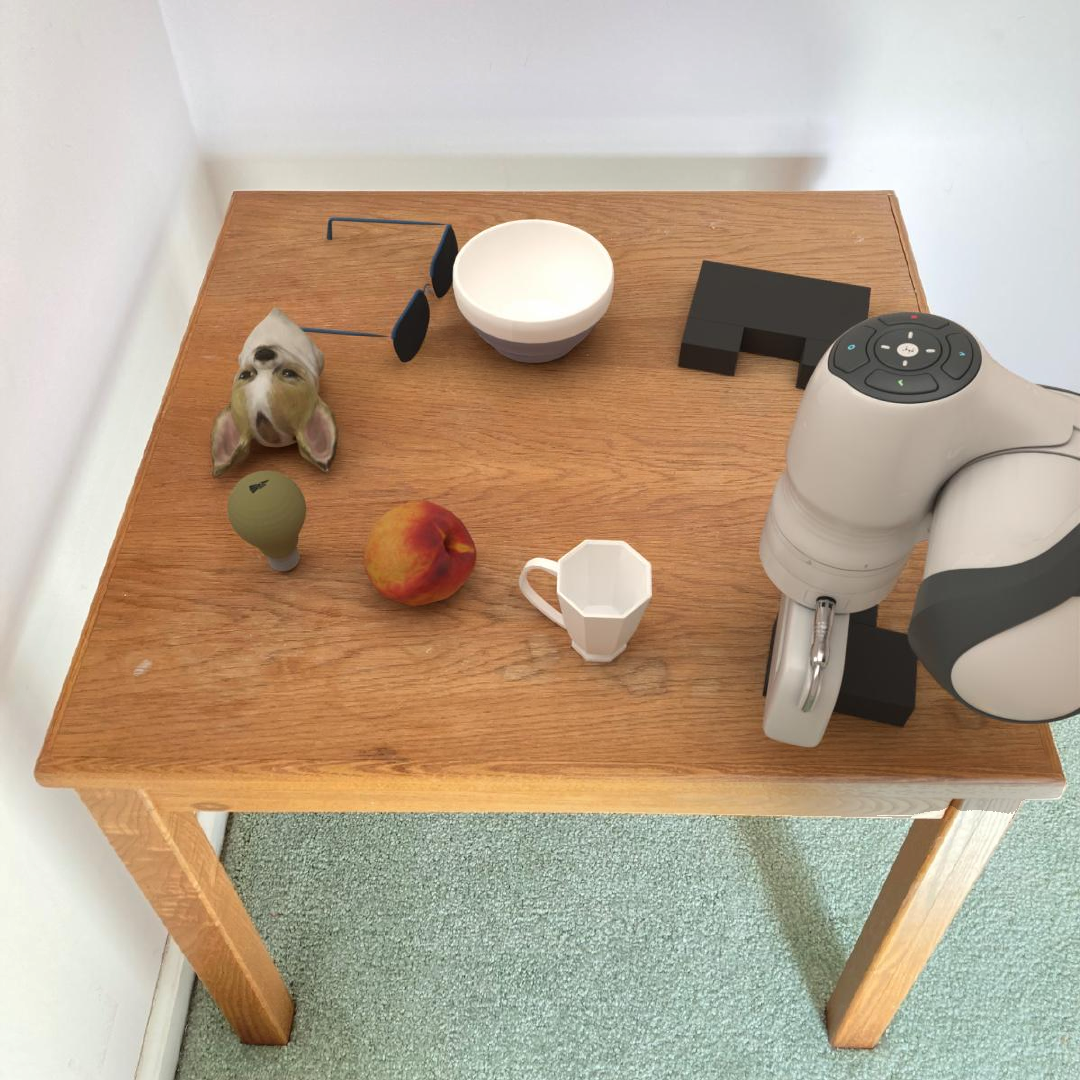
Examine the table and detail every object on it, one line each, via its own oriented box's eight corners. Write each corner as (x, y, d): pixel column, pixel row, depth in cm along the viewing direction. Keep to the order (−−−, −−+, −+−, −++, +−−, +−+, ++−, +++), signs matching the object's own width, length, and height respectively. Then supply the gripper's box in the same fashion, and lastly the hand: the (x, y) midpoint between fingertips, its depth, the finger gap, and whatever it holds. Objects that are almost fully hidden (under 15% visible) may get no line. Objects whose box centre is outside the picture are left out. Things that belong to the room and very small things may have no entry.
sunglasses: (408, 376, 94) (395, 334, 90) (265, 363, 98) (247, 322, 94) (464, 260, 104) (455, 217, 100) (333, 252, 108) (319, 210, 104)
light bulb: (291, 605, 79) (263, 526, 71) (235, 574, 81) (202, 493, 73) (336, 555, 82) (314, 473, 74) (281, 526, 84) (254, 443, 76)
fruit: (434, 644, 77) (424, 584, 71) (349, 596, 80) (333, 534, 73) (493, 571, 81) (489, 509, 75) (410, 527, 84) (400, 463, 77)
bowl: (624, 296, 101) (629, 231, 95) (591, 400, 92) (595, 335, 86) (481, 272, 103) (477, 207, 97) (437, 371, 94) (430, 307, 88)
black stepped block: (909, 624, 78) (920, 602, 76) (902, 728, 73) (915, 708, 71) (777, 595, 80) (784, 573, 77) (762, 696, 75) (769, 675, 72)
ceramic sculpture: (334, 289, 88) (322, 426, 79) (350, 360, 95) (341, 491, 87) (208, 295, 87) (184, 432, 79) (234, 365, 95) (214, 497, 86)
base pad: (863, 312, 99) (871, 287, 97) (853, 398, 92) (861, 374, 90) (699, 284, 102) (703, 259, 99) (677, 366, 95) (681, 342, 92)
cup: (624, 693, 75) (632, 635, 68) (501, 642, 77) (497, 582, 71) (659, 619, 78) (670, 557, 72) (540, 573, 81) (541, 509, 74)
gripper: (875, 696, 57) (820, 795, 68) (895, 433, 69) (846, 553, 80) (761, 671, 58) (725, 772, 69) (801, 415, 70) (765, 537, 81)
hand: (790, 653), depth 75 cm, fingers closed on black stepped block, 6 cm apart
